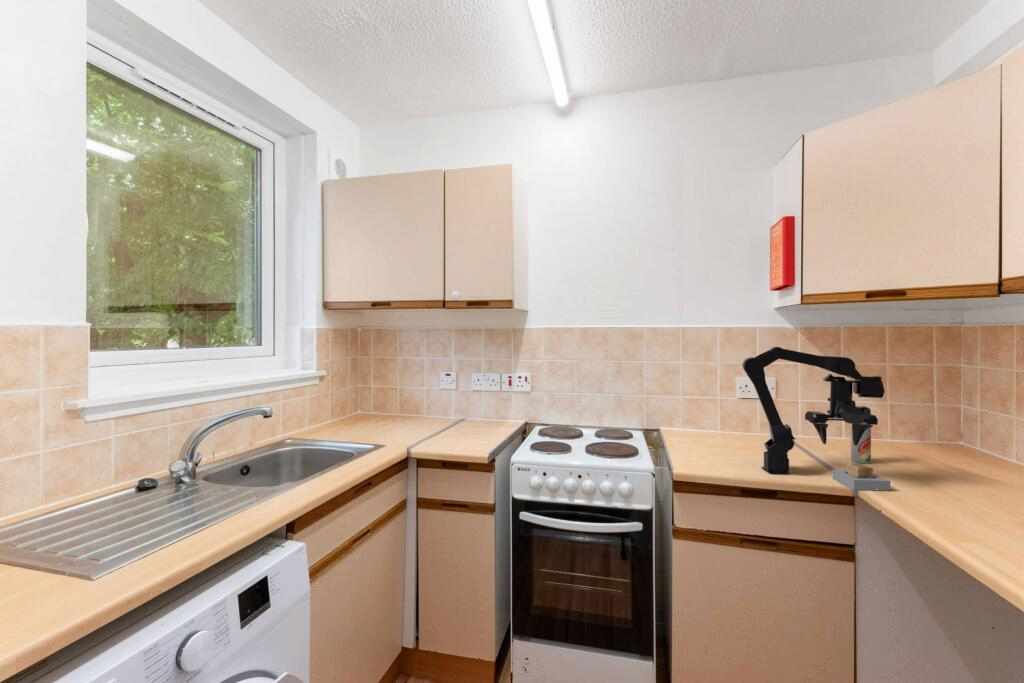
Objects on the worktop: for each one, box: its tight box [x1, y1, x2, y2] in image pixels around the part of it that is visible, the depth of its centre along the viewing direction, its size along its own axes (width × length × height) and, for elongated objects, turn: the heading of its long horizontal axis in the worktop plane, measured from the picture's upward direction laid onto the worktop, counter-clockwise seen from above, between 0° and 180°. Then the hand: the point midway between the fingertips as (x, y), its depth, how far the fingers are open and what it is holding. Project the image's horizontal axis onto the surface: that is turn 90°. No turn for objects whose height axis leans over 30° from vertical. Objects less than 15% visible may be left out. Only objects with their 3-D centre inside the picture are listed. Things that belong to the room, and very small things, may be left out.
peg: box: [847, 463, 874, 479], centre depth 136 cm, size 4×4×6 cm
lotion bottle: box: [850, 405, 872, 465], centre depth 161 cm, size 6×6×20 cm
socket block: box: [832, 469, 891, 492], centre depth 136 cm, size 10×10×3 cm
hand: (839, 444), depth 143 cm, fingers open, 9 cm apart
